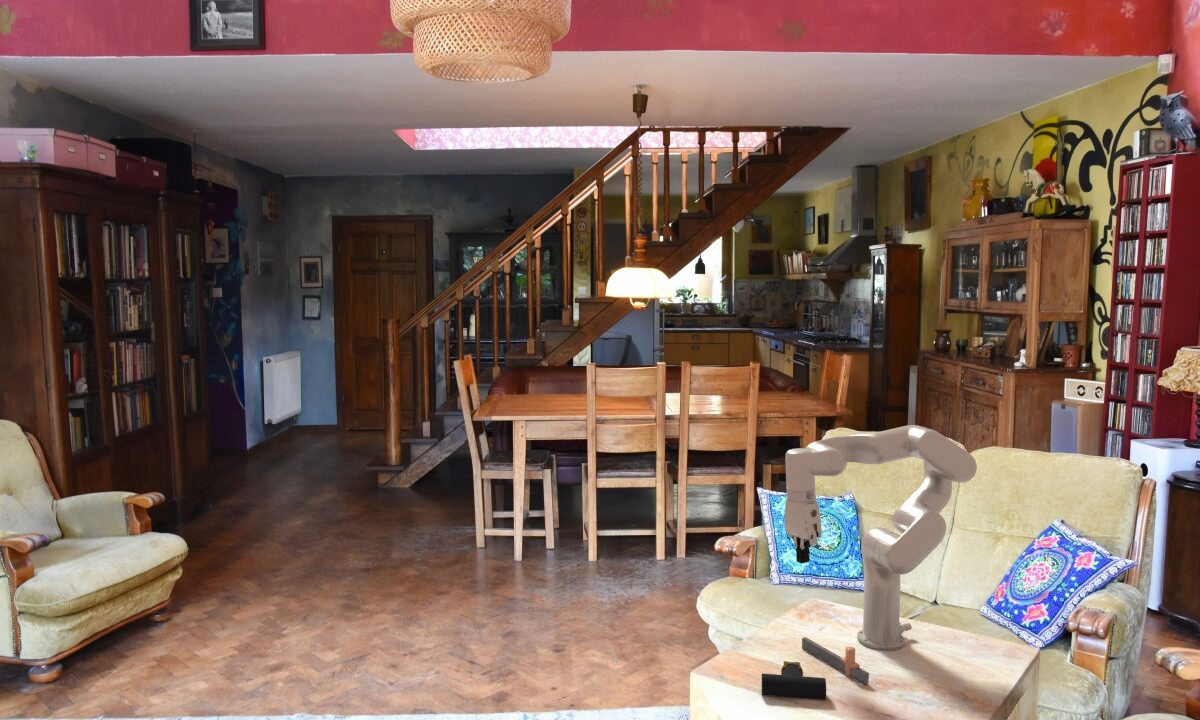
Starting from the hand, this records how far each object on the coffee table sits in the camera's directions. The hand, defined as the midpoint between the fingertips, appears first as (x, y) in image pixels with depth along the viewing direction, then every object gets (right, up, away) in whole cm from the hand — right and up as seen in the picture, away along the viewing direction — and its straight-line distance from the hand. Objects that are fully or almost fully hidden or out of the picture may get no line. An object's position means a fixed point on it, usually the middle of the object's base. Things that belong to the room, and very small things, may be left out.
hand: (803, 561), depth 229 cm
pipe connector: (-7, -27, -20) cm, 35 cm away
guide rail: (+6, -25, -8) cm, 27 cm away
